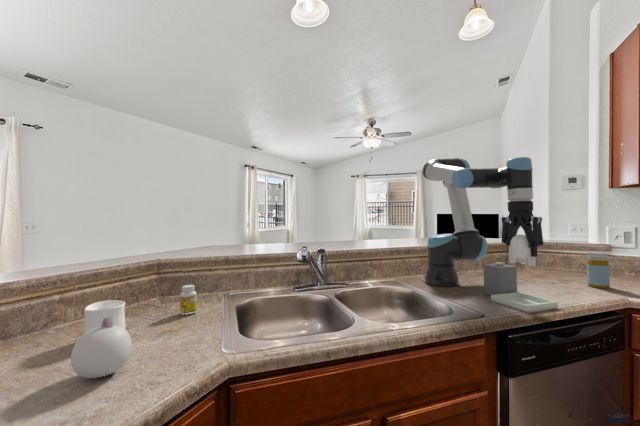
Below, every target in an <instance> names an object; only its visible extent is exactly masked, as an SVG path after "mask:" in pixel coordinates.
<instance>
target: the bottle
mask: <svg viewBox="0 0 640 426" xmlns="http://www.w3.org/2000/svg"><path fill="white" fill-rule="evenodd" d="M586 277H587V279H586V280H587V286H589V287H592V288H597V289H609V288H610V287H611V285H610V284H611V283H610V282H611V281H610V280H611V279H610V264H609V260H608V252H603V251H587V260H586Z"/></svg>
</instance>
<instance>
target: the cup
mask: <svg viewBox="0 0 640 426" xmlns="http://www.w3.org/2000/svg"><path fill="white" fill-rule="evenodd" d="M125 310H126V302H125V301H124V300H120V299H107V300H102V301H101V300H100V301H97V302H93V303H91V304H89V305H87V306H86V307H85V308H84V309H83V311H84V320H85V321H84V329H83V335H84V334H85V333H86V332H88V331H90V330H91V329H94V328H96V327H99V326H101V325H102V322H103V319H104V318H106V317H110V318H111V322H112V325H116V326H120V327H122V328H124V329H125V330H126V316H125Z"/></svg>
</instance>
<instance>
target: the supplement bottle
mask: <svg viewBox="0 0 640 426" xmlns="http://www.w3.org/2000/svg"><path fill="white" fill-rule="evenodd" d="M181 291H182V292H181V293H180V295H179V304H180V313H181V312H182V313H189V312H194V311H196V310H197V311H198V295H197V294H198V293H197V291H196V290H195V285H194V284H186V285H182V287H181Z"/></svg>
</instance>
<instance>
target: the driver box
mask: <svg viewBox="0 0 640 426" xmlns="http://www.w3.org/2000/svg"><path fill="white" fill-rule="evenodd" d="M482 265H483V267H482V268H483V292H484V293H483V294H485V295H489V296H491V295H496V294H505V293H513V292H518V277H517V276H518V275H517V273H518V272H517V266H516V265H512V264H506V263H505V262H502V261H501V262H500V261H498V262H497V261H496V262H494V263H484V264H482Z"/></svg>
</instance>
